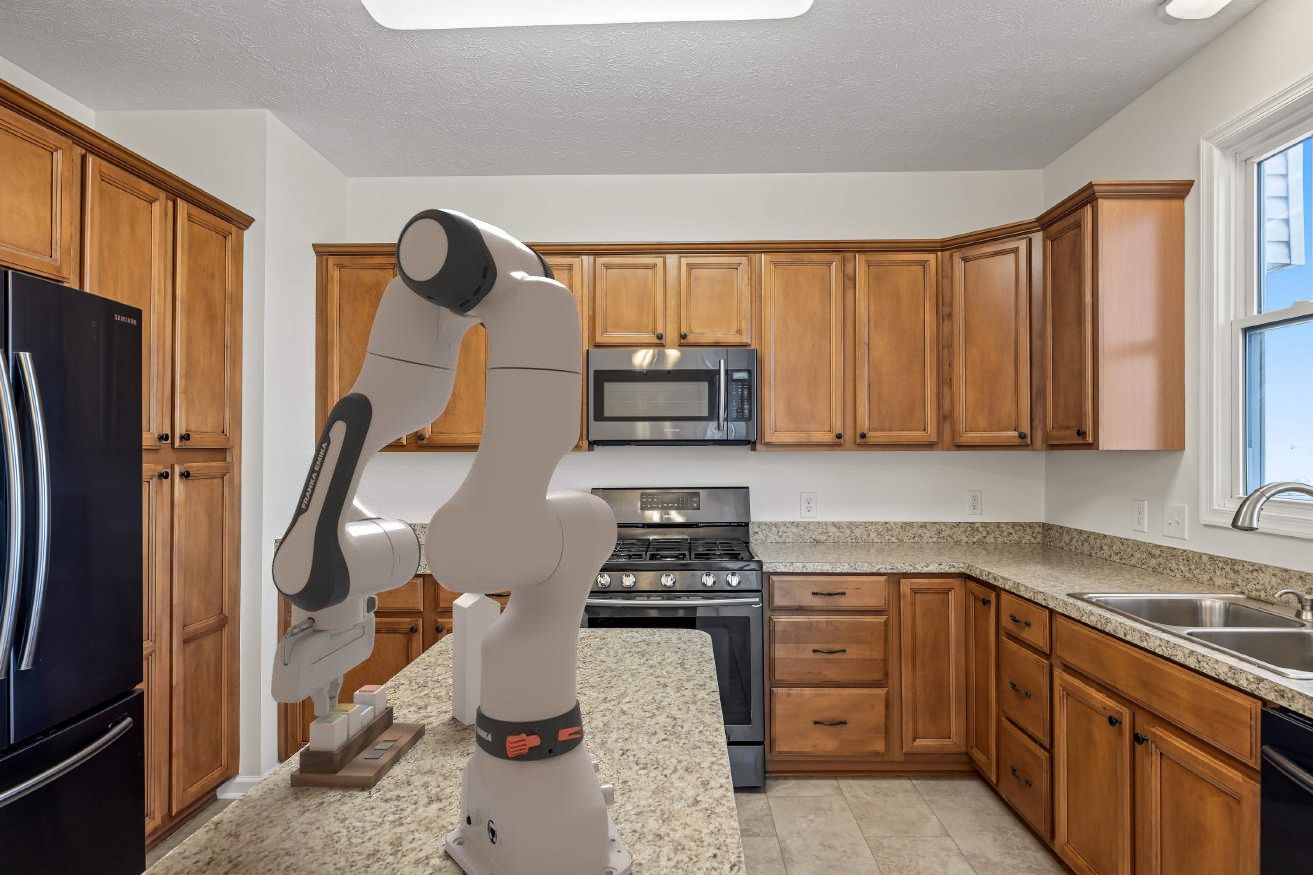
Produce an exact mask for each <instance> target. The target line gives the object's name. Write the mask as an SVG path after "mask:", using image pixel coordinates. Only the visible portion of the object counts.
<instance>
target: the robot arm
mask: <svg viewBox="0 0 1313 875" xmlns="http://www.w3.org/2000/svg"><path fill="white" fill-rule="evenodd" d="M395 247H396V249H395V264H396V270H397V273H398V276H395V277H394V278H393V279H391V280H390V281H389V283H388V284H387V286H386V287H385V289H384V292H383V293H382V294H383V295H382V297H381V299H380V302H379V305H378V307H377V310H376V313H375V316H374V319H373V323H372V326H371V329H370V334H369V339H368V343H367V347H366V353H365V357H364V362H363V365H362V368H361V370H360V372H359V374H358V376H357V378H356V381H355V382H354V384H353V385H352V387H351V389H350V390H349V392H348V393H346V395H345V396H343V397H342V398H340V399H339V400H337V402H336V403H335V404H334V406H333V407H332V409H331V411H330V413H329V415H328V417H327V418H326V422H325V423H324V427H323V429H322V432H321V435H320V437H319V440H318V442H317V445H316V449H315V451H314V455H313V457H312V461H311V464H310V465H309V469H308V471H307V472H308V473H307V475H306V478H305V481H304V484H303V487H302V491H301V493H300V495H299V499H298V502H297V504H296V508H295V511H294V513H293V516H292V519H291V521H290V523H289V525H288V526H287V528H286V531H285V532H284V534H283V536H282V538H281V539H280V541H279V542H278V545H277V548H276V550H275V551H274V554H273V558H272V562H271V563H272V564H271V576H272V577H271V578H272V580H273V581H272V582H273V584H274V586H275V588H276V590H277V591H278V592H279V594H280V595H281V596H282V597H283V598H284V599H285V600H286V601H287V602H289V603H290V604H291V625H290V627H288V628H287V630H286V633H285V635H284V636H283V638H282V639H281V641H279V643H278V644H277V647H276V649H275V653H274V657H273V658H274V659H273V665H272V672H271V673H272V674H271V675H272V676H271V685H270V695H271V697H272V700H274V702H277V703H282V704H283V703H286V704H287V703H288V704H291V703H292V704H296V703H297V704H298V703H300V702H302V701H304V700H306V699H307V698H308V697H310V698H311V701H312V703H313V714H314V716H316V717H320V716H326V715H327V714H329V713H330V712H331V711H332V710H334V709H335V708H337V706H338V704H339V694H340V692H341V689H342V686H343V682H344V674H346V673H347V672H349V671H350V670H352V669H354V668H355V667H357V666H358V665H360V664H361V663H363V662H365V661H366V660H368V659H369V658H371V655H372V652H373V650H374V646H375V633H376V616H375V613H374V612H375V611H377V609H378V606H379V605H378V604H379V603H378V602H379V601H378V600H379V598H378V596H377V595H376V594H379V593H382V592H384V593H385V592H387V591H393V590H395V589H398V588H400V587H402V586H404V585H407V584H409V583H411V581H413V579H414V577H415V576H416V574H417V573H418V572H419V571H418V570H419V569H420V565H421V561H422V560H421V559H422V544H421V541H420V538H419V536H418V534H417V532H416V530H415V529H414V528H413V526H411V525H410V524H409V523H408V522H407V521H404V520H403V519H400V518H399V519H396V518H393V517H391V516H388V515H386V514H383V512H382V513H381V512H380V511H378V510H376V509H375V508H373V507H372V506H370V505H368V504H367V503H366V501H365V500H364V498H363V496H362V495H361V494H359V493H358V488H359V485H360V483H361V479H362V476H363V474H364V470H365V469H366V466H367V465H368V464H369V462H370V461H371V459H372V458H373V457H374V455H376V454H377V453H378V452H379V451H381V449H383V448H384V447H386V446H388V445H389V444H391V443H392V442H394V441H396V440H398V439H401V438H403V437H405V436H407V435H410V434H411V433H415V432H418V431H420V430H423V429H424V428H426V427H428V426H430V425H431V424H432V423H434V422H435V421H436V420H437V419H438V418H440V417H441V416H442V414H443V413H444V412H445V411H446V407H447V406H448V403H449V401H450V398H451V396H452V393H453V389H454V384H455V380H456V372H457V368H458V362H459V357H460V356H459V355H460V349H461V345H462V341H463V339H464V336H465V335H466V333H467V332H468V330H470V328H472V327H473V326H476V324H479V325H480V326H481V327H483V328H484V329H485V330H486V332H487V333H486V334H487V345H488V346H487V347H488V348H487V359H486V360H487V364H486V382H485V396H484V397H485V400H484V401H485V402H484V414H483V424H482V433H481V437H480V442H479V444H478V449H477V452H476V455H475V458H474V460H473V462H472V465H471V466H470V469H469V471H468V473H467V475H466V477H465V478H464V481H462V483H461V485H459V488H458V489H457V490H456V491H455V493H454V494H453V495H452V497H450V498H449V499H448V500H447V501H446V502H445V503H444V504H443V505H441V506H440V507H439V508H438V509H437V510H436V511H435V513H433V515H432V517H431V518H430V521H429V522H428V525H427V528H426V530H425V535H424V541H423V542H424V544H423V551H424V558H425V561H426V565H427V567H428V570H429V572H430V573H431V574H432V576H433V578H434V579H435V580H436V582H437V583H438V584H439V585H440V586H441V587H442V588H444V589H445V590H447V591H450V592H453V593H459V594H460V593H462V594H465V593H478V594H484V595H489V594H490V595H491V594H496V593H502V592H506V591H511V593H510V596H509V599H508V600H507V603H506V606H505V608H504V609H503V611H502V612H501V613H500V617H499V618H498V619H497V620H496V621H495V622H494V623H493V624H492V625H491V627H490V628H489V629H488V630H487V632H486V633H485V635H484V637H483V640H482V643H481V648H480V705H479V706H478V708H477V711H476V719H475V724H474V730H475V742H476V744H477V745H476V747H475V749H474V751H473V753H472V755H471V756H470V757H469V759H468V760H467V761H466V763H465V765H463V767H462V770H461V771H462V774H461V788H460V789H461V791H460V793H461V794H460V810H459V812H460V813H459V826H458V827H457V828H455V829H454V830H453V831H451V832H450V833H448V834H447V835H446V837H445V843H444V849H445V851H446V852H447V853H448V854H449V856H451V858H452V859H453V860H454V861H455V863H457V864H458V865H459V866H460V868H461V869H462V870H463V871H464V872H465V873H466V875H630V874H631V873H632V872H633V868H632V867H633V866H632V860H631V858H630V855H629V853H628V851H627V849H626V847H625V845H624V843H623V840H622V837H621V836H620V834H619V831H618V830H617V827H616V825H615V822H614V821H613V819H612V816H611V813H610V811H609V809H608V807H610V806H613V805H614V804H615V790H614V787H613V784H612V783H610V782H608V783H602V784H601V783H600V782H599V779H598V775H597V774H598V773H599V770H600V765H599V760H597V759H594V760H592V759H591V756H590V753H589V751H588V747H587V741H586V740H585V739H584V737H585V734H584V727H583V723H584V720H583V714H582V711H581V705H580V701H579V699H578V698H577V678H578V676H577V669H578V644H579V643H578V642H579V635H580V634H579V633H580V627H581V624H582V618H583V615H584V612H585V607H586V604H587V601H588V598H589V596H590V593H591V590H592V588H593V585H594V582H595V580H596V578H597V576H598V574H599V572H600V570H601V569H602V567H603V565H604V564H606V562H607V561H608V560H609V559H610V557H611V556H612V554H613V552H614V551H615V548H616V545H617V542H618V523H617V519H616V516H615V513H614V512H613V510H612V508H611V507H610V505H609V504H608V502H606V501H605V500H604V499H602V498H601V497H599V496H597V495H595V494H592V493H588V492H585V491H580V490H579V491H578V490H575V489H569V488H559V489H549V486H550V482H551V479H552V477H553V475H554V472H555V470H556V468H557V466H558V464H559V463H560V462H561V460H562V459H563V458H564V457H565V456H566V455H567V454H569V453H570V452H571V451H572V450H573V449H574V448H575V446H576V445H577V443H578V441H579V439H580V435H581V418H582V417H581V415H582V391H583V390H582V388H583V360H584V359H583V340H582V339H583V338H582V328H581V322H580V321H581V320H580V313H579V308H578V303H577V302H578V301H577V299H576V297H575V295H574V294H573V293H572V291H571V290H570V289H569V288H568V287H567V286H566V285H565V284H563V283H561V282H559V281H557V280H556V279H555V275H554V274H555V273H554V272H553V269H552V267H551V266H550V264H549V262H548V261H547V260H546V258H545V257H544V256H543V255H541V254H540V252H538V251H537V250H536V249H534V248H533V247H531V246H530V245H527V244H525V243H522V242H521V241H519V240H517V239H515V238H514V237H512V236H511V235H509V234H507V233H506V232H505V231H504V230H502V229H500V228H498V227H496V226H494V225H491V224H488V223H486V222H484V221H481V220H478V219H475V218H471V217H469V216H467V215H466V214H464V213H463V212H460V211H455V210H452V209H446V208H445V209H443V208H430V209H425V210H422V211H419V212H418V213H416V214H414V215H413V216H412V217H411V218H410V219H409V220H408V221H407V222H406V224H405V225H404V226H403V228H402V229H401V231H400V234H399V236H398V239H397V243H396V246H395Z"/></svg>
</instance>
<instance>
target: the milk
mask: <svg viewBox="0 0 1313 875" xmlns="http://www.w3.org/2000/svg"><path fill="white" fill-rule="evenodd" d="M500 615H501V603H500V602H498V601H496V600H494V599H493V598H490V597H488V596H486V595H485V594H478V593H462V595H461V596H459V597H457V599H455V600H454V601H452V674H451V675H452V681H451V682H452V690H451V691H452V696H451V697H452V699H451V701H452V703H451V704H452V706H451V708H452V710H451V711H452V712H451V715H452V716H453V717H454V718H455V719H456V720H458V721H459V722H460V723H462V724H463V725H464V726H466V727H467V726H472V725H475V719H476V711H477V708H478V706H479V705H480V648H481V643H482V640H483V637H484V635H485V633H486V632H487V630H488V629H489V628H490V627H491V625H492V624H493V623H494V622H495V621H496V620H497V619H498V618H499V617H500Z"/></svg>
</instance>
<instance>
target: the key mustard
mask: <svg viewBox="0 0 1313 875" xmlns="http://www.w3.org/2000/svg"><path fill="white" fill-rule="evenodd" d="M329 714H342V715H347V741H349V740H350V739H351V738H352V737H354V736H355V735H356V734H357V733H358V732H360V731H361V705H359V704H354V703H345V702H344V703H338V706H337V708H335V709H334V710H332V711H331V712H330V713H329Z"/></svg>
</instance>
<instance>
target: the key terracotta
mask: <svg viewBox="0 0 1313 875" xmlns="http://www.w3.org/2000/svg"><path fill="white" fill-rule="evenodd" d="M386 690H387V687H386V686H385V685H382V684H380V685H379V684H365V685H363V686H362V687H361V688H359V689H358V690H356V691H355V692H353V704H359V705H369V706H374V719H375V718H377V717H378V716H379V715H380V714H382V713H383V712H384V711H385V710H386V706H387V705H386V703H387V701H386V700H387V699H386V698H387V697H386V696H387V694H386V693H387V692H386Z"/></svg>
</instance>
